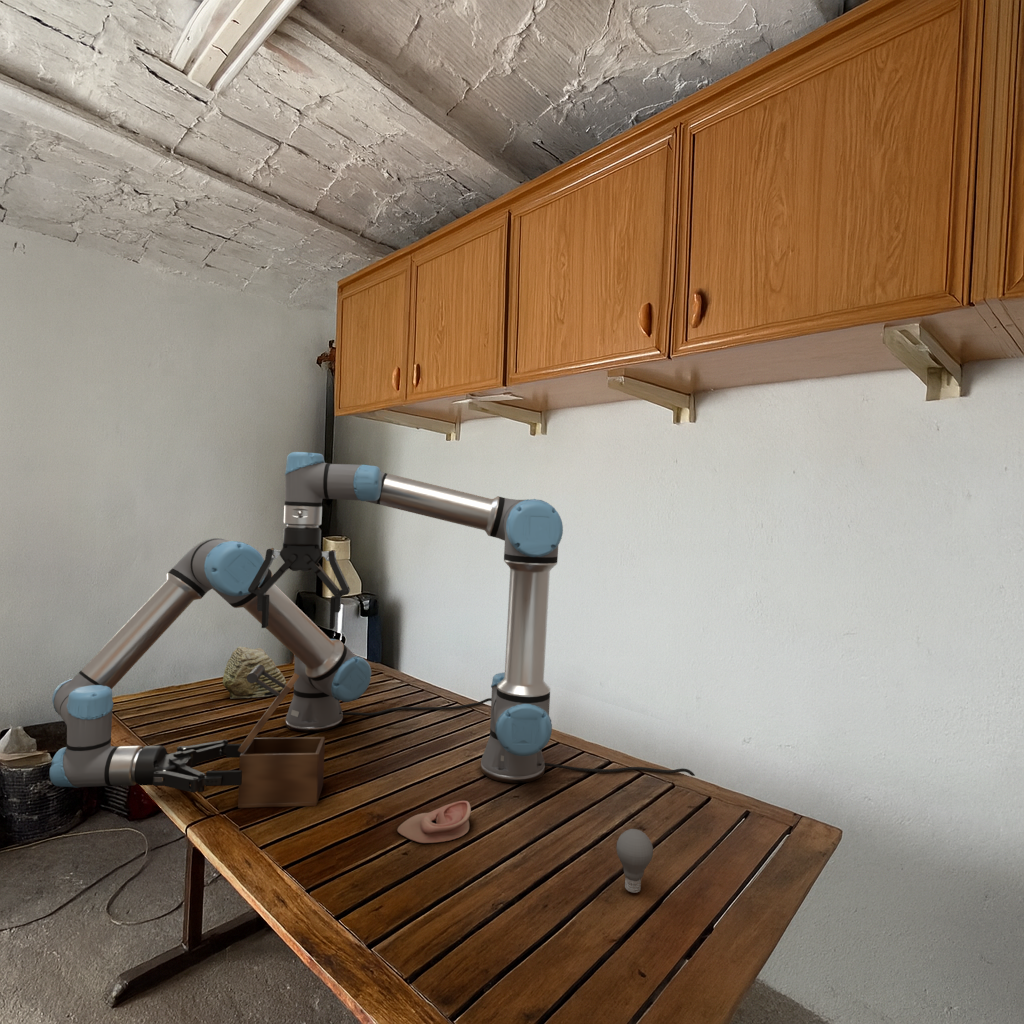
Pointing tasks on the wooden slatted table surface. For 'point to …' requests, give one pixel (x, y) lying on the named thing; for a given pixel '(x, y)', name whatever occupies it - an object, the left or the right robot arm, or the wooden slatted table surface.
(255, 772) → the chest
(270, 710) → the lid
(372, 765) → the wooden slatted table surface
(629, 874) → the light bulb
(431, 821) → the anatomical model
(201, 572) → the left robot arm
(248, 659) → the fossil
